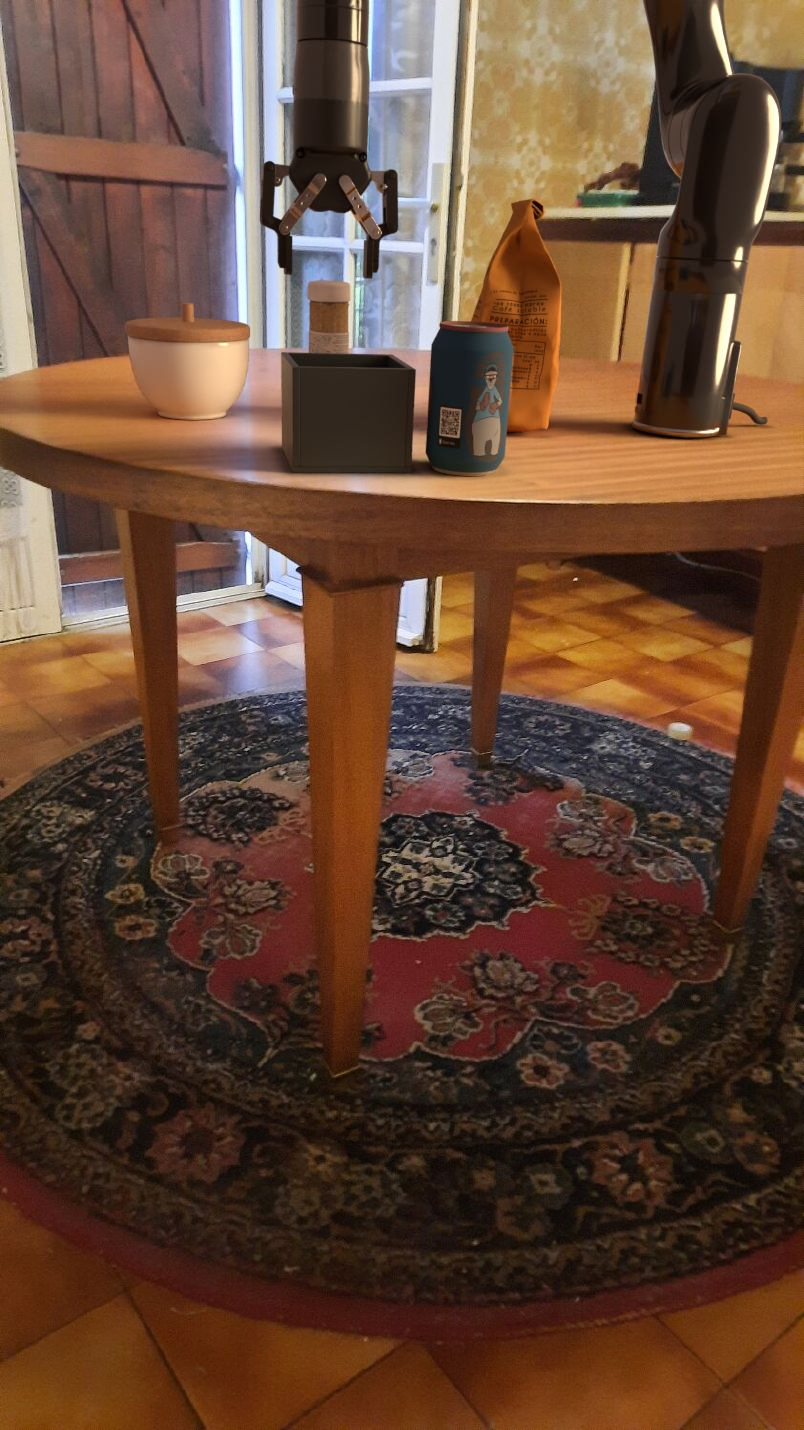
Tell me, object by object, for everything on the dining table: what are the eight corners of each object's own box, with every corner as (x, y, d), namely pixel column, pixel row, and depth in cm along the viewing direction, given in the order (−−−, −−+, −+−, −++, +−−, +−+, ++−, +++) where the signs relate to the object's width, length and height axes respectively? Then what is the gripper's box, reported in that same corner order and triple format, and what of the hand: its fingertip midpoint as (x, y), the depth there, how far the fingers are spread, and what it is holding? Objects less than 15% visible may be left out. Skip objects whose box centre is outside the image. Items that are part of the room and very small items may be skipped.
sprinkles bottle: (332, 406, 117) (333, 280, 112) (356, 412, 114) (359, 282, 108) (299, 409, 115) (299, 279, 109) (323, 415, 112) (324, 282, 106)
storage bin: (389, 448, 97) (392, 354, 93) (411, 472, 88) (416, 369, 84) (281, 448, 95) (280, 352, 91) (293, 473, 86) (292, 367, 82)
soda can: (447, 457, 94) (456, 318, 89) (516, 468, 91) (529, 325, 86) (410, 469, 89) (417, 322, 83) (482, 481, 86) (493, 330, 80)
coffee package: (546, 419, 115) (568, 202, 106) (554, 440, 104) (580, 199, 95) (458, 414, 116) (473, 198, 106) (457, 434, 105) (473, 194, 95)
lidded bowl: (127, 405, 112) (119, 297, 108) (241, 404, 116) (238, 300, 111) (136, 425, 102) (128, 307, 97) (261, 424, 105) (259, 309, 101)
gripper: (262, 89, 97) (263, 275, 104) (409, 101, 99) (400, 281, 106) (256, 97, 103) (258, 272, 110) (394, 108, 106) (387, 277, 113)
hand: (328, 276), depth 108 cm, fingers open, 8 cm apart
